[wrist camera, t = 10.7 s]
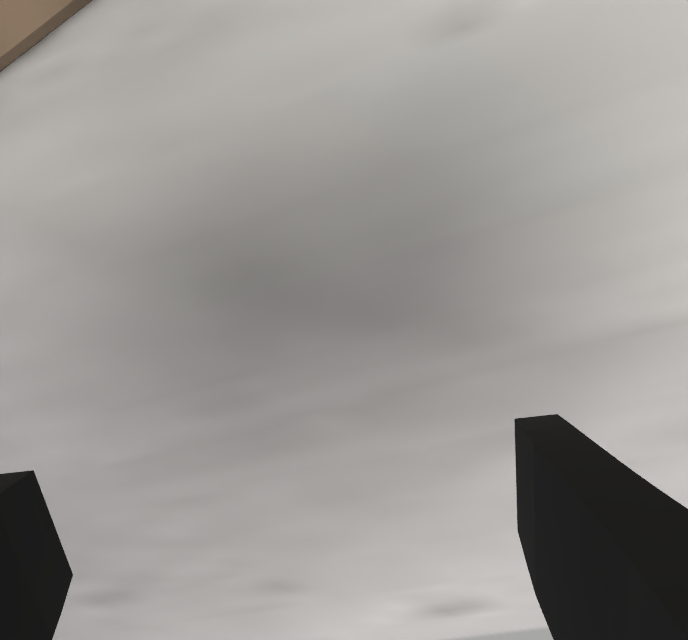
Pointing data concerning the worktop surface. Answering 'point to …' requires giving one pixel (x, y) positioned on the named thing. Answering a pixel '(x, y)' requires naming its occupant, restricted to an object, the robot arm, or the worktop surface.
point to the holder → (30, 23)
